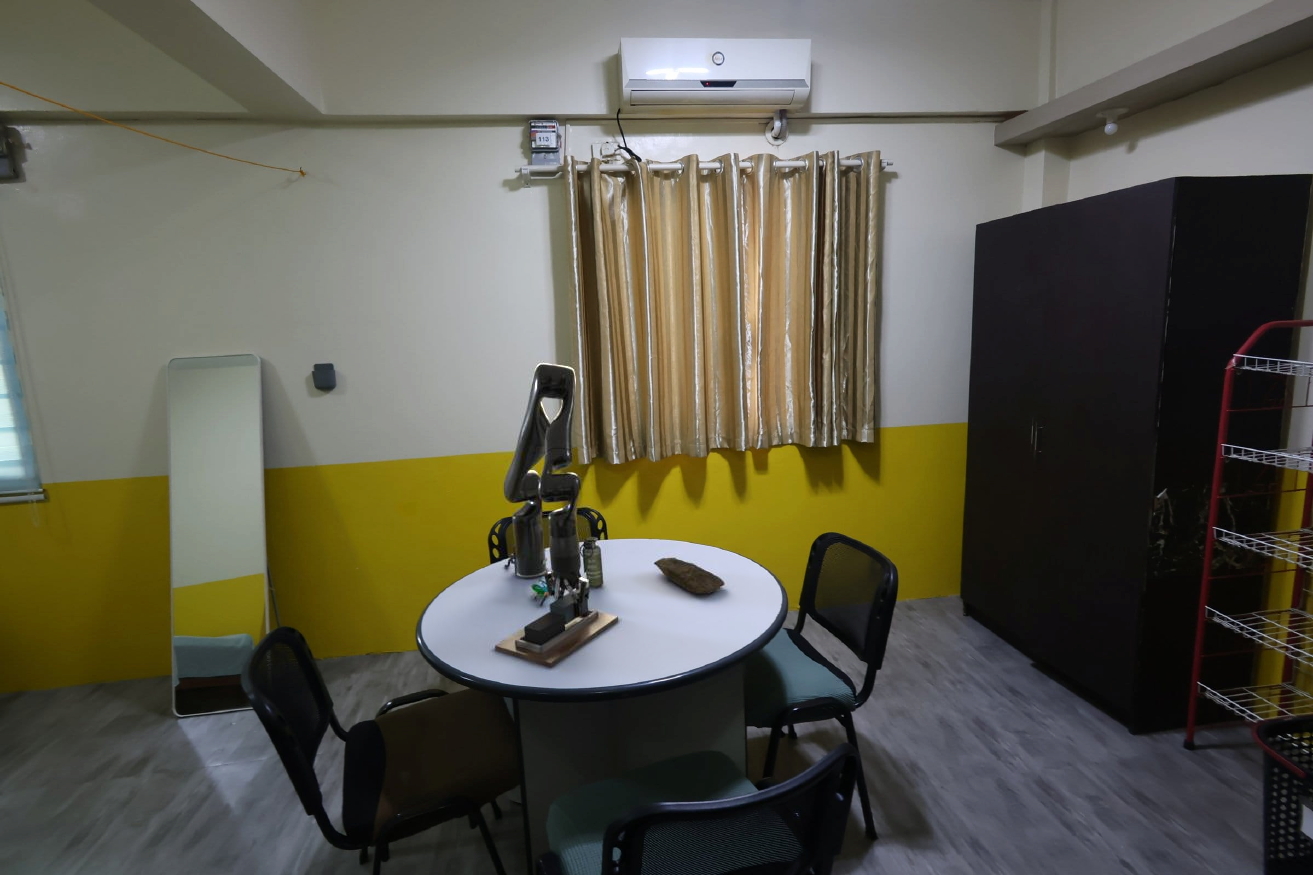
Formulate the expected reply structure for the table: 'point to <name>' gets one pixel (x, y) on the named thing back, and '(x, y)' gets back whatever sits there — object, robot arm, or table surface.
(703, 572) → the stone
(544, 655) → the mount board
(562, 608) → the pad
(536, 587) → the stick construction toy
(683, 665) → the table surface
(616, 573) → the table surface
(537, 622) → the pad
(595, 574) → the grenade
